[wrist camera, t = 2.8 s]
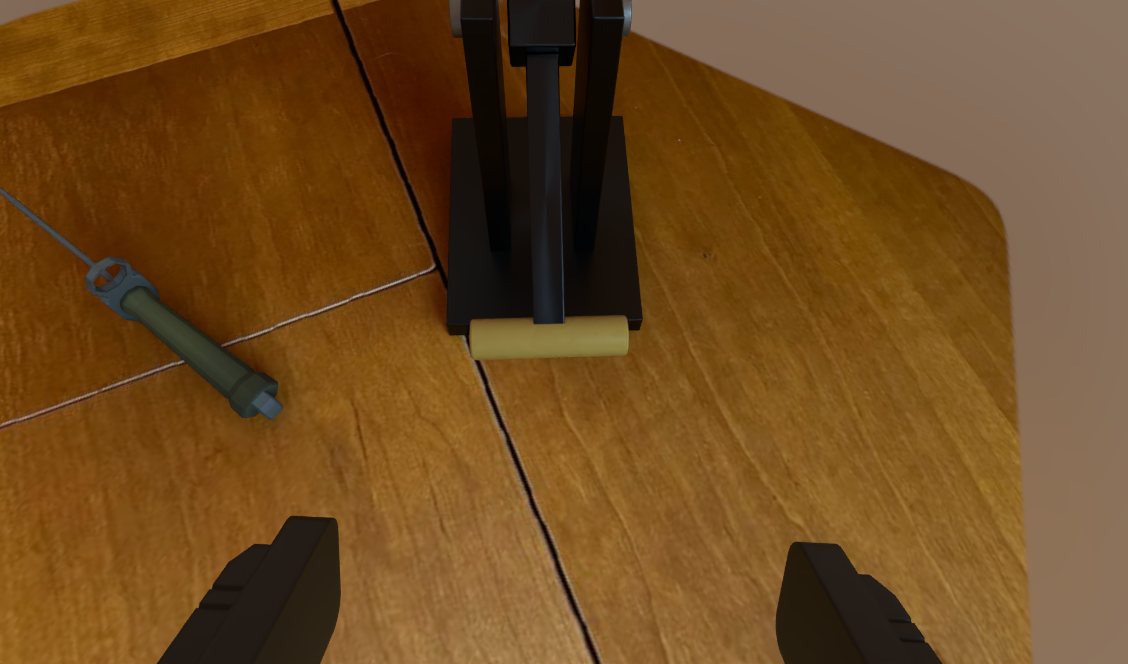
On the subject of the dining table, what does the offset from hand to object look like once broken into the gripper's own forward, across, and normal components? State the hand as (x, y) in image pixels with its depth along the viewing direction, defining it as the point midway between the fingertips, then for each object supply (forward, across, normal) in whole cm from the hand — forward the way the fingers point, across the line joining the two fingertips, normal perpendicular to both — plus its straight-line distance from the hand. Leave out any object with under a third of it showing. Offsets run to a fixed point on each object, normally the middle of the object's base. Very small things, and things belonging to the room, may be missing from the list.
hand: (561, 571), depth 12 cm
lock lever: (+15, +1, -5) cm, 16 cm away
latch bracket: (+25, +1, -2) cm, 25 cm away
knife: (+22, +20, +3) cm, 29 cm away
